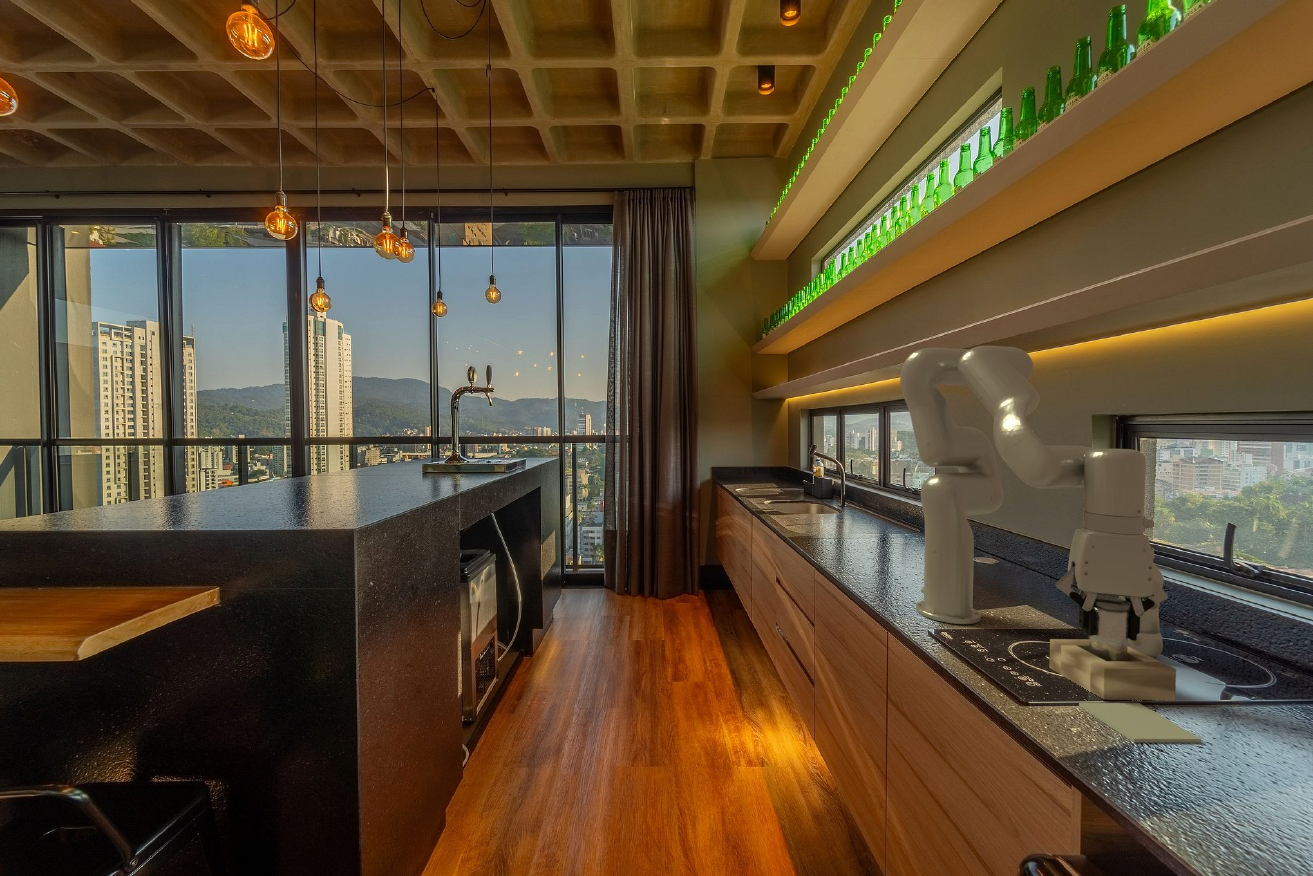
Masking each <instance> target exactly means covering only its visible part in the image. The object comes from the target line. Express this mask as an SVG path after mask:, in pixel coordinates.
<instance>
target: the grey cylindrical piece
mask: <svg viewBox="0 0 1313 876" xmlns="http://www.w3.org/2000/svg"><path fill="white" fill-rule="evenodd" d="M1092 611H1094V612H1095V613H1096V622H1095V635H1094V636H1091V635H1088V639H1089V652H1090V653H1092V654H1093V655H1095V656H1097V657H1099V658H1101V659H1103V660H1105V661H1127V652H1128V624H1129V611H1131V603H1130V602H1128V601H1126V600H1123V599H1120V598H1119V597H1117V596H1116V597H1115V596H1112V595H1103V594H1097V596H1096V599H1095V601H1094V604H1093V609H1092Z"/></svg>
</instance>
